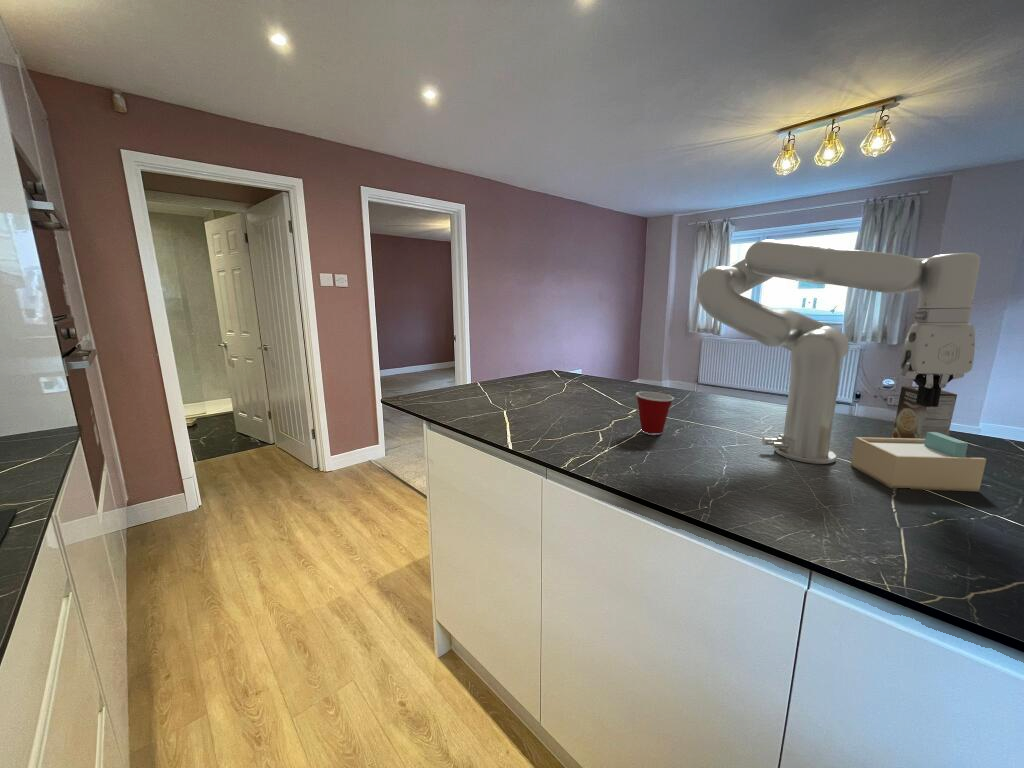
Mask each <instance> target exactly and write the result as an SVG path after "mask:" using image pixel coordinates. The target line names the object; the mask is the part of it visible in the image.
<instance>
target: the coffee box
mask: <svg viewBox="0 0 1024 768" xmlns="http://www.w3.org/2000/svg"><path fill="white" fill-rule="evenodd" d="M918 387H919V386H917V385H915V386H913V385H912V386H910V385H907V386H906V385H905V386H904V385H903V386H901V388H900V393H899V398H898V404H897V409H896V415H895V420H894V426H893V430H892V431H893V432H892V435H891V436H892V437H891V438H912V439H926V434H927V432H938V433H941V434H943V435H946V436H949V433H950V429H951V425H952V421H953V415H954V411H955V406H956V402H957V397H958V394H957V393H953V392H949V391H946V390H943V389H941V393H940V399H939V404H938V407H926V406H922V405H919V404H917V403H916V401H917V393H918Z"/></svg>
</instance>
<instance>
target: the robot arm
mask: <svg viewBox="0 0 1024 768" xmlns="http://www.w3.org/2000/svg"><path fill="white" fill-rule="evenodd" d="M980 264H981V257H980V255H979V254H977V253H976V252H975V253H974V252H956V253H955V252H953V253H945V254H944V253H943V254H936V255H933V256H930V257H927V258H926V257H925V258H918V257H917V258H915V257H914V258H913V257H911V256H909V255H903V254H897V253H888V252H880V251H879V252H878V251H869V250H868V251H867V250H861V249H860V250H859V249H850V248H842V247H837V246H831V245H824V244H815V243H814V244H811V243H805V242H797V241H796V242H794V241H784V240H776V239H762V240H759V241H757V242H754V243H753V244H751V246H750V247H749V248H748V249H747V251H746V254H745V257H744V258H743V260H740V261H739V262H737V263H735V264H733V265H731V266H726V265H717V266H713V267H710V268H708V269H706V270H705V271H703V273H701V275H700V277H699V278H698V282H697V286H696V292H697V293H696V296H697V299H698V302H699V303H700V305H701V308H702V309H703V311H705V313H707V314H708V315H709V316H710V317H712V319H715V320H716V321H718V322H719V323H721V324H723V325H725V326H727V327H729V328H731V329H733V330H735V331H736V332H738V333H741V334H742V335H745V336H747V338H750V339H752V340H755V341H756V342H758V343H759V344H761V345H763V346H766V347H773V348H775V347H777V348H778V347H781V348H784V349H786V350H788V351H790V352H791V353H790V354H791V355H790V373H789V374H790V378H789V387H788V394H787V395H788V396H787V403H786V410H785V411H786V412H785V421H784V428H783V429H784V430H783V433H778V436H775V438H774V437H773V438H772V437H762V439H761V443H762V445H763V446H772V448H774V451H775V452H776V453H777V454H778V455H780V456H782V457H783V458H786V459H790V460H792V461H797V462H801V463H807V464H817V465H820V464H821V465H823V464H824V465H825V464H833V463H834V462H836V460H837V454H836V453H835V452H833V450H832V451H831V450H830V445H831V437H832V431H833V425H834V417H835V412H836V404H837V397H838V390H839V382H840V372H841V365H842V364H841V363H842V359H844V357H846V355H847V353H848V352H849V349H850V343H849V342H850V341H849V340H848V337H847V336H846V335H845V334H844V332H842V331H841V330H839V329H837V328H835V327H833V326H830V325H829V324H826V323H823V322H821V321H818V320H816V319H813V318H811V317H809V316H806V315H805V314H801V313H799V312H797V311H794V310H790V309H787V308H786V309H785V308H783V309H782V308H780V309H779V308H778V309H777V308H776V309H775V308H772V307H769V306H766V305H764V304H762V303H759V302H757V301H756V300H753V299H751V298H748V297H745V296H743V295H741V294H744V293H746V292H748V291H749V290H751V289H753V288H755V287H757V286H759V285H761V284H763V283H764V282H767V281H768V280H771V279H772V278H778V279H779V278H780V279H787V280H793V281H798V282H804V283H809V284H816V285H834V286H840V287H847V288H854V289H858V290H866V291H870V292H871V291H872V292H876V293H883V294H891V295H892V294H893V295H894V294H903V293H910V292H919V295H918V302H917V307H916V312H915V311H914V312H911V314H910V318H911V319H912V320H914V324H911V326H910V327H909V330H908V332H907V335H906V337H905V341H904V344H903V348H902V352H901V357H900V369H901V370H902V371H901V373H900V377H902V378H906V379H911V380H912V381H913V382H914V384H915V386H919V387H918V393H917V401H916V403H917V404H919V405H922V406H926V407H938V404H939V399H940V393H941V390H942V389H945V388H946V386H947V384H948V383H949V382H951V381H952V380H957V379H961V378H964V377H965V374H968V373H969V372H971V371H972V369H973V365H974V360H975V348H976V333H975V327H974V324H972V323H970V319H971V313H972V307H973V301H974V297H975V292H976V285H977V281H978V276H979V270H980Z"/></svg>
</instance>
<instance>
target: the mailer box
mask: <svg viewBox="0 0 1024 768" xmlns="http://www.w3.org/2000/svg"><path fill="white" fill-rule="evenodd" d="M869 442H882V443H923V444H925V439H912V438H892V437H870V436H869V437H867V436H866V437H861V436H855V437H854V442H853V443H854V444H853V448H852V449H853V450H852V455H851V462H850V466H852V467H853V468H855V469H856V470H858V471H860V472H862V473H863V474H865V475H867V476H869V477H871V478H872V479H874V480H875V481H878V482H879V483H881V484H883V485H885V486H886V487H888V488H890V489H897V488H910V489H909V490H924V489H927V491H928V490H929V491H930V490H931V491H950V490H951V491H954V492H955V491H956V492H957V491H959V492H980V488H981V486H982V485H981V484H982V480H983V477H984V472H985V467H986V463H987V458H984V457H966V456H965V457H932V456H898V455H896V454H893V453H891V452H889V451H887V450H885V449H883V448H880V447H878V446H876V445H874V444H872V443H869Z"/></svg>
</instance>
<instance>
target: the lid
mask: <svg viewBox="0 0 1024 768" xmlns="http://www.w3.org/2000/svg"><path fill="white" fill-rule="evenodd" d="M869 443H872V444H874V445H876V446H878V447H880V448H883V449H885V450H887V451H889V452H891V453H893V454H896V455H898V456H932V457H966V454H967V450H968V445H969V442H967V441H963V440H960V439H958V438H954V437H953V436H949V435H948V436H946V435H943V434H941V433H938V432H927V434H926V439H925V444H923V443H882V442H869Z"/></svg>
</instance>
